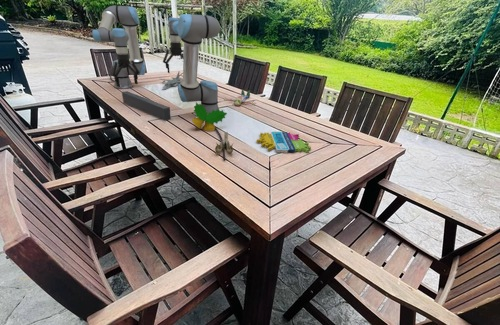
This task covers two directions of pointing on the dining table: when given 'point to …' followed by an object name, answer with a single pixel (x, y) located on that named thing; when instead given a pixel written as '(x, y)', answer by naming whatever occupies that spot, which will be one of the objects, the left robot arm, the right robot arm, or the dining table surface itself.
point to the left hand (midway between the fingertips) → (127, 85)
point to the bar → (147, 105)
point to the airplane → (171, 82)
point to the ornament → (207, 117)
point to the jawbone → (224, 145)
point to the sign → (283, 142)
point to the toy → (241, 99)
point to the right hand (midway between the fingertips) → (177, 72)
